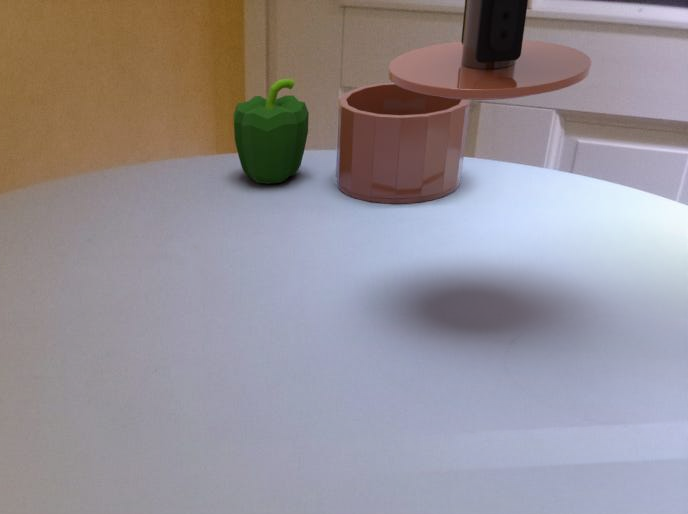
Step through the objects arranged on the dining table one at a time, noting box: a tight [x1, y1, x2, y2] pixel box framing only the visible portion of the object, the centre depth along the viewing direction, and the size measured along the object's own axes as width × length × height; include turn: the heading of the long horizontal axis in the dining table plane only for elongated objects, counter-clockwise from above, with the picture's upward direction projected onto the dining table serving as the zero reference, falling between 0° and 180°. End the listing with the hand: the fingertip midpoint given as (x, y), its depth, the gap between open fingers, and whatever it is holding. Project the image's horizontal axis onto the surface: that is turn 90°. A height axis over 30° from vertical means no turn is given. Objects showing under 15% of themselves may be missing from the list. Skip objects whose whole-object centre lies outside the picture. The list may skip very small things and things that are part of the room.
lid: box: [388, 0, 592, 101], centre depth 72 cm, size 15×15×7 cm
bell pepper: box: [233, 78, 310, 185], centre depth 110 cm, size 8×8×10 cm
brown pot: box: [335, 81, 471, 204], centre depth 107 cm, size 14×14×8 cm
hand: (490, 49), depth 73 cm, fingers closed on lid, 4 cm apart
